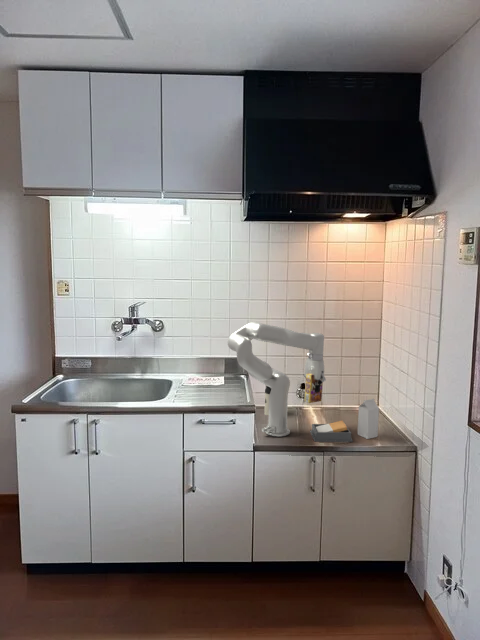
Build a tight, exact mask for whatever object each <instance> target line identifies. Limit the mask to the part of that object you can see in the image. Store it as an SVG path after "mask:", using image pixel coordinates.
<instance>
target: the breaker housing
mask: <svg viewBox="0 0 480 640" xmlns="http://www.w3.org/2000/svg"><path fill="white" fill-rule="evenodd" d="M325 424H326V423H312V424H311V430H309V432H310V435H311V437H312V439H313V441H314V442H317V443H318V442H319V443H321V442H325V443H326V442H327V443H329V442H330V443H334V442H336V443H337V442H338V443H341V442H342V443H353V438H352V431H350V429H349V428H348V425H346V427H347V430H344V431H340V432H317V430H316V427H317V426H321V425H325Z"/></svg>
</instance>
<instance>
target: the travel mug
mask: <svg viewBox="0 0 480 640" xmlns="http://www.w3.org/2000/svg"><path fill="white" fill-rule="evenodd" d="M270 392H271V388H270V387H268V386H266V385H265V389H264V413H263V414H264V416H267V415H268V417H269V396H270Z"/></svg>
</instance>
